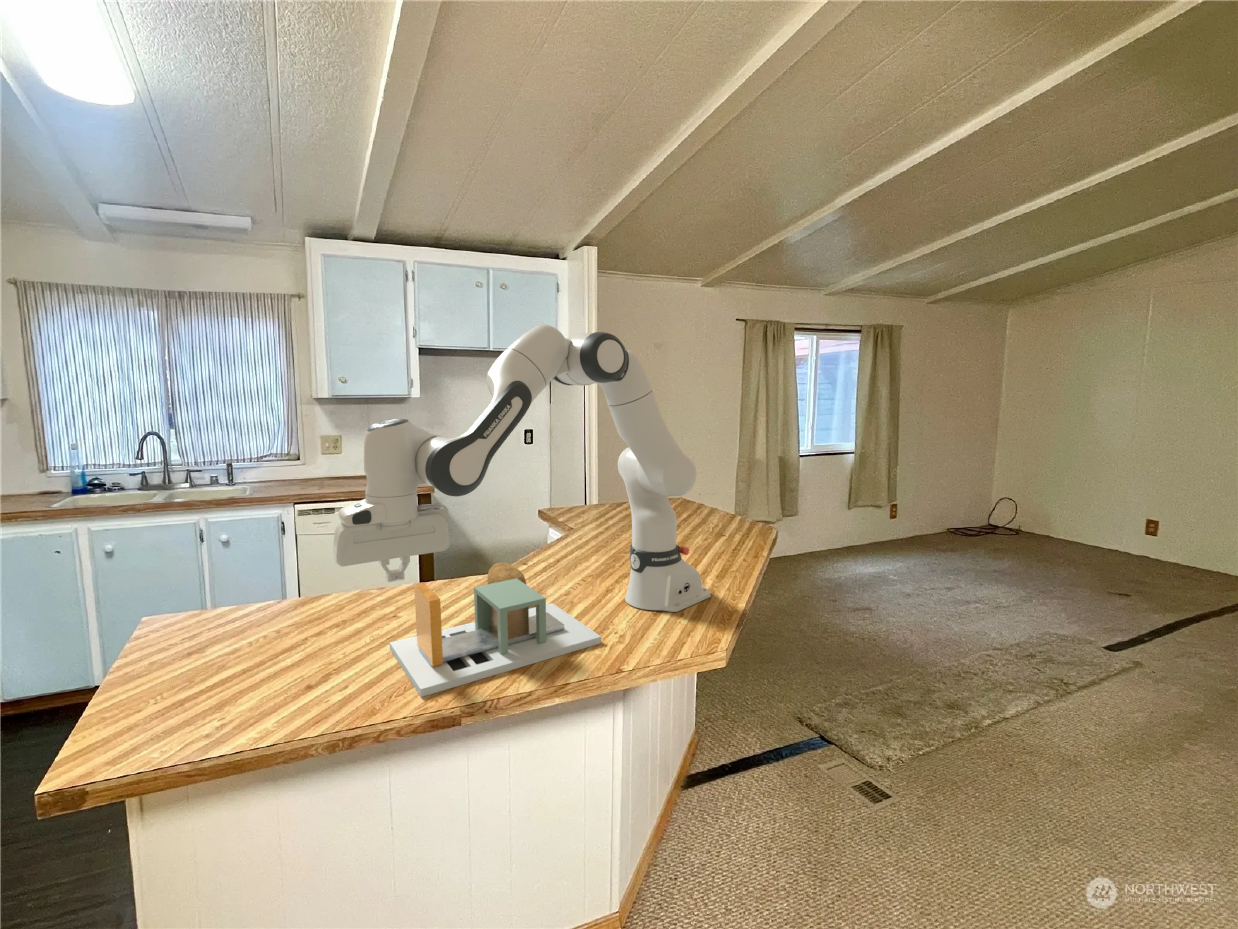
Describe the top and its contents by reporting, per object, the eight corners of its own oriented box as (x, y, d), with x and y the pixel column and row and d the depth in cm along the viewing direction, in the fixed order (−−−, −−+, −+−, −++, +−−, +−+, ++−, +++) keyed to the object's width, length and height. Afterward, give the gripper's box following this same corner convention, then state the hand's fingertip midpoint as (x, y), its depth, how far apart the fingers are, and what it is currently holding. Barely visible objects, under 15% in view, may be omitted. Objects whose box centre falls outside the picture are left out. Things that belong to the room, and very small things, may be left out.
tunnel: (517, 619, 135) (516, 578, 133) (546, 642, 123) (545, 598, 122) (475, 629, 129) (473, 587, 128) (501, 655, 118) (500, 608, 116)
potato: (497, 610, 143) (496, 579, 142) (480, 591, 155) (480, 562, 154) (535, 603, 148) (534, 572, 147) (516, 585, 160) (516, 557, 159)
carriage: (545, 615, 136) (544, 559, 134) (566, 630, 128) (566, 572, 126) (417, 647, 120) (414, 585, 118) (432, 667, 112) (429, 601, 110)
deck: (552, 609, 144) (552, 603, 144) (601, 643, 126) (601, 636, 126) (389, 649, 123) (389, 642, 123) (420, 697, 105) (420, 689, 105)
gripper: (442, 498, 117) (444, 566, 119) (329, 511, 106) (333, 585, 108) (453, 504, 112) (455, 575, 114) (335, 518, 101) (339, 596, 103)
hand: (395, 580), depth 111 cm, fingers closed
